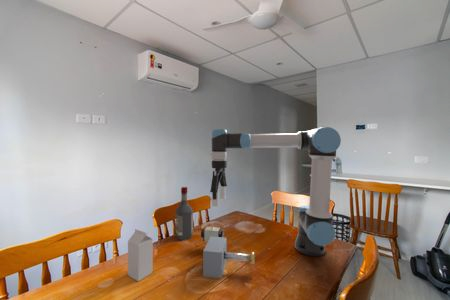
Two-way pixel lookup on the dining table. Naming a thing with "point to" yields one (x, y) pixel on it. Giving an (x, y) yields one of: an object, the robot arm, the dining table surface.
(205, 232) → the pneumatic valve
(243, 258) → the pin
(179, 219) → the liquor
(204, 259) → the block
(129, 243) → the milk carton
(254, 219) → the dining table surface
